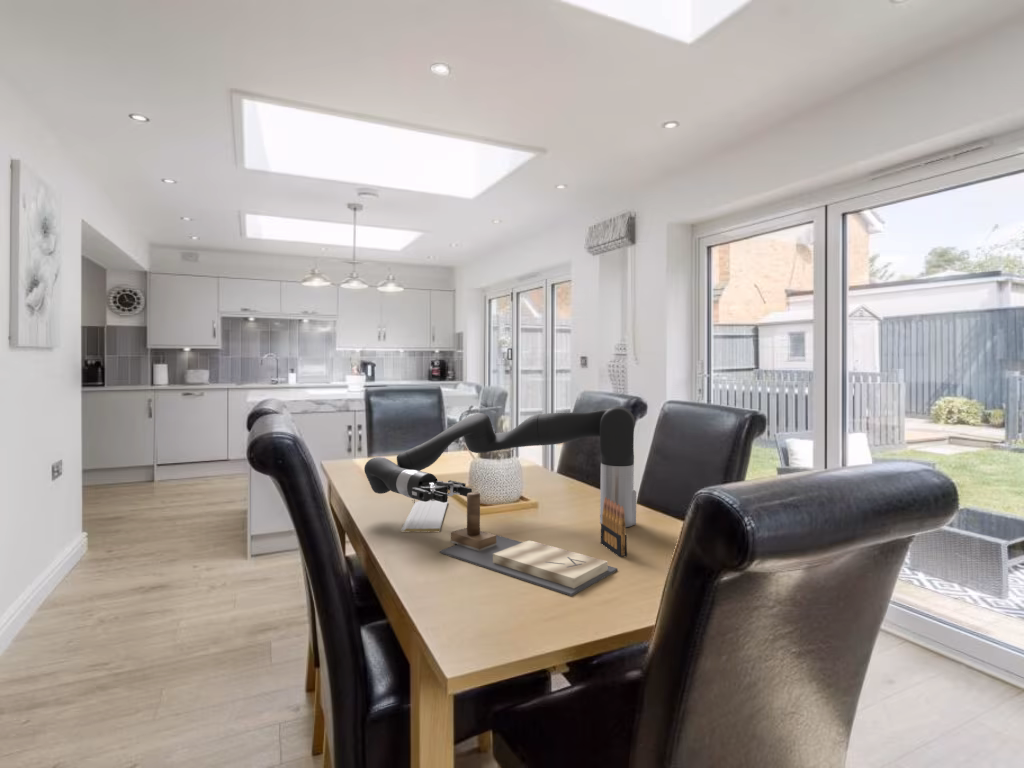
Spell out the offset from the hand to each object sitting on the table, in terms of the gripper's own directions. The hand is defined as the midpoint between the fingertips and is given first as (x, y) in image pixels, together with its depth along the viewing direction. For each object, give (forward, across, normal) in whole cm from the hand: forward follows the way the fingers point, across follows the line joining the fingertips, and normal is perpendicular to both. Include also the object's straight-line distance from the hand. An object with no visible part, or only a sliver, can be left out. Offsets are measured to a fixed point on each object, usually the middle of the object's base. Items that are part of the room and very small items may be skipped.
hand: (459, 495), depth 141 cm
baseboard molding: (-25, +11, +13) cm, 31 cm away
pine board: (+28, +1, +12) cm, 30 cm away
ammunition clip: (+32, +22, +11) cm, 40 cm away
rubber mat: (+21, +1, +12) cm, 24 cm away
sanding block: (+4, +1, +12) cm, 12 cm away
